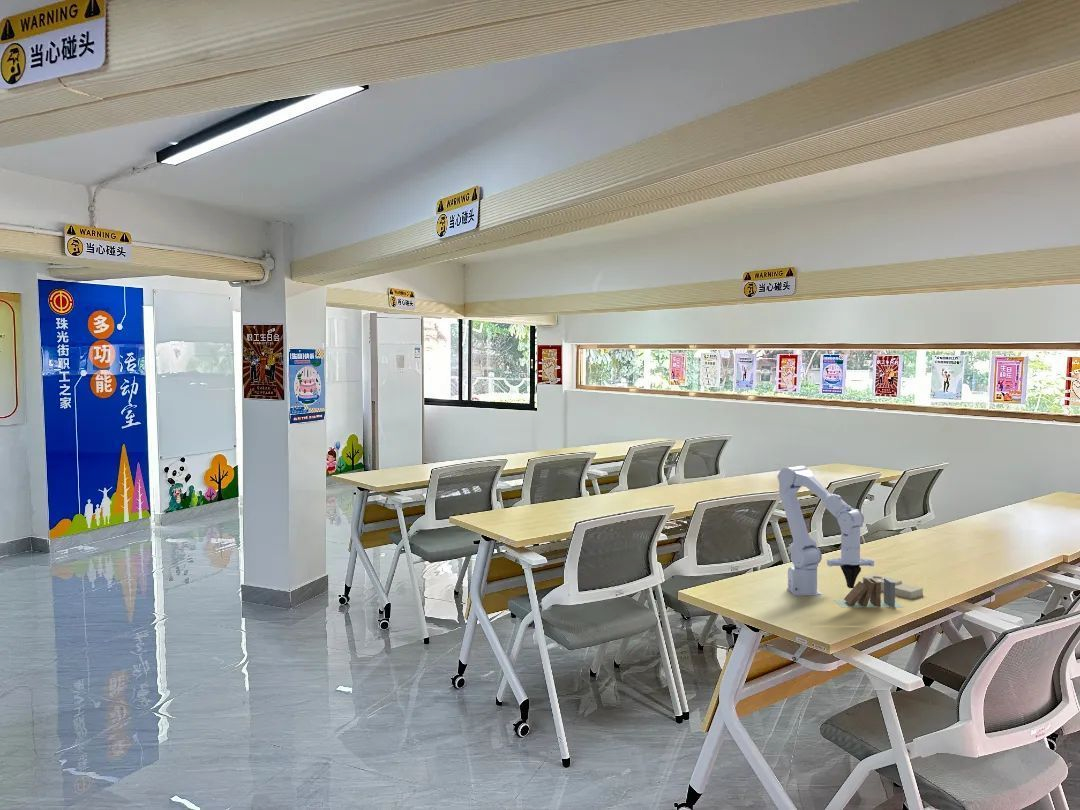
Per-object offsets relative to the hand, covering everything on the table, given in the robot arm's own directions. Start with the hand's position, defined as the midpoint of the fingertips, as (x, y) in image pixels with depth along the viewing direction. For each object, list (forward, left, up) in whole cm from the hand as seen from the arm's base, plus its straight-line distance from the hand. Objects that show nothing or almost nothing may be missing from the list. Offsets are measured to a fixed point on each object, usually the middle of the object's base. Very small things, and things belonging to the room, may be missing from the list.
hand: (850, 587), depth 241 cm
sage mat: (+6, +1, -6) cm, 9 cm away
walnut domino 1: (-1, 0, -5) cm, 5 cm away
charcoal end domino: (+13, 0, -6) cm, 14 cm away
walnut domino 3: (+8, 0, -6) cm, 10 cm away
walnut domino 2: (+4, 0, -5) cm, 7 cm away
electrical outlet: (+20, +15, -7) cm, 26 cm away
